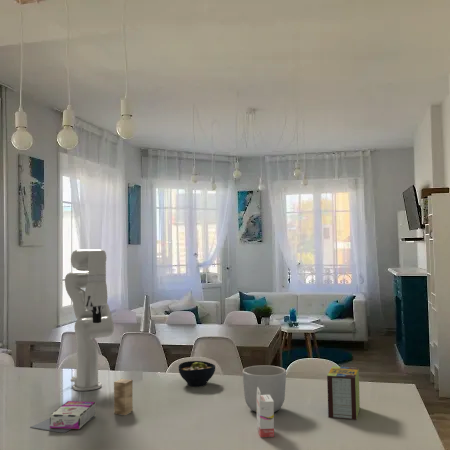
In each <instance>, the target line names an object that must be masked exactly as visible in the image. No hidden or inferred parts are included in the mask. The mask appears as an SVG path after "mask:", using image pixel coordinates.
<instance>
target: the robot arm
mask: <svg viewBox="0 0 450 450" xmlns="http://www.w3.org/2000/svg"><path fill="white" fill-rule="evenodd" d="M70 265H71V267H72V268H73V269H76V271H75V270H74V271H70V272H69V273H67V274H66V275H65V277H64V287H65V290H66V293H67V295H68V297H69V298H70V299H71V303H72V306H73V311H74V316H75V318H76V321H75V322H74V334H75V335H74V336H75V341H76V342H75V343H76V376H71V378H70V382H72V383H74V384H73V385H72V387H73V388H72V389H73V390H75V391H80V392H82V391H83V392H85V391H86V392H88V391H92V390H93V391H94V390H98V389H100V388H101V387H102V385H103V384H102V382H101V381H99V347H98V345H97V344H96V342H95V341H93V339H98V338H107V337H111V336H112V335H113V333H114V331H115V325H114V320H113V317H112V313H111V310H110V306H109V304H108V288H107V287H108V286H107V282H106V281H107V253H106V251H105V250H104V249H96V248H95V249H75V250H74V251H72V253H71V255H70Z"/></svg>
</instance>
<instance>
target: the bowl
mask: <svg viewBox="0 0 450 450" xmlns="http://www.w3.org/2000/svg"><path fill="white" fill-rule="evenodd" d="M215 372H216V365H215V364H214V363H212V362H207V361H202V360H201V361H200V360H189V361H183V362H182V363H180V364H178V373H179V375H180V377H181V378H182V379H183V380H184V381H185V382H186V384H187V386H189V387H194V388H198V387H199V388H200V387H204V386H206V385H207V383H208V382H209V381H210V380H211V378H212V377H213V376H214V374H215Z"/></svg>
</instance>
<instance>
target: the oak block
mask: <svg viewBox="0 0 450 450" xmlns="http://www.w3.org/2000/svg"><path fill="white" fill-rule="evenodd" d="M113 391H114V392H113V395H114V396H113V413H114V415H120V414H121V416H127V415H128V414H131V413H132V412H133V380H132V379H127V378H126V379H125V378H121V379H118V380H116V381H113ZM131 411H132V412H131Z"/></svg>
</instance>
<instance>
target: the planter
mask: <svg viewBox="0 0 450 450" xmlns="http://www.w3.org/2000/svg"><path fill="white" fill-rule="evenodd" d="M286 378H287V370H286V368H283V367H280V366H278V365H277V366H275V365H266V364H265V365H263V364H262V365H252V366H248V367H247V366H246V367H244V368H243V369H242V383H243V395H244V401H245V404H246V405H247V407H248V408H249V409H250V410H251V411H252V412H255V413H257V387H258V388H259V390H260V392H261V395H270V396H271V398H272V399H273V401H274V413H276V412H277V411H279V410H280V409H281V408H282V407H283V405H284V403H285V398H286V381H287V379H286ZM258 394H259V392H258Z"/></svg>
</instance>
